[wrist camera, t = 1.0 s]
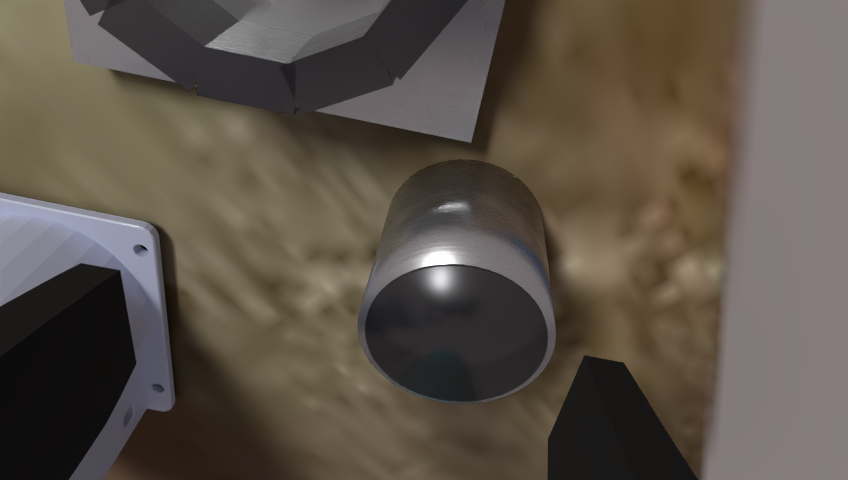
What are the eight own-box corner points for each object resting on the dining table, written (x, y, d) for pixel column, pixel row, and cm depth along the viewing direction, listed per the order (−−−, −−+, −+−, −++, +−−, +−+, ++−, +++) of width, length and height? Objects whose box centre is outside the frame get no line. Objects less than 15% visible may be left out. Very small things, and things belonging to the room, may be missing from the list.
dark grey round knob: (519, 302, 21) (525, 421, 17) (377, 273, 21) (347, 386, 16) (563, 177, 18) (584, 283, 14) (399, 144, 18) (369, 240, 14)
